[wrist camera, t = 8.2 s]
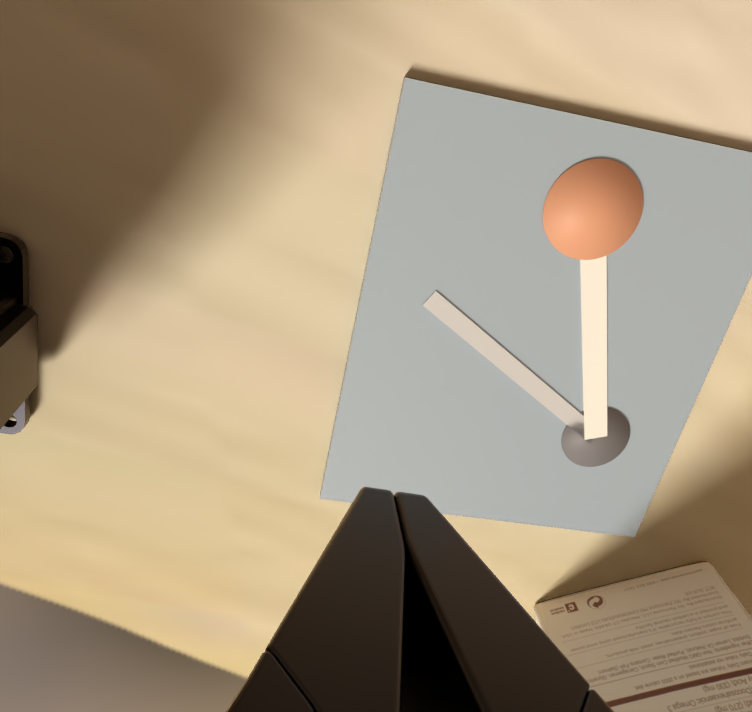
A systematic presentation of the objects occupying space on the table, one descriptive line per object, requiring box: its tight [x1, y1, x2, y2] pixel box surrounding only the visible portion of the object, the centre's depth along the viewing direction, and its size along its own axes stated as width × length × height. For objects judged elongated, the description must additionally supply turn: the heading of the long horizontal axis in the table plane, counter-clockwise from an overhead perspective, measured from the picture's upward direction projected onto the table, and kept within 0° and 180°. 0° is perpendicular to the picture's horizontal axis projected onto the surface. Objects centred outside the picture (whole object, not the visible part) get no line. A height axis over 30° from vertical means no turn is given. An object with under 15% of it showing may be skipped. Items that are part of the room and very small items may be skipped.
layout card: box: [320, 77, 752, 537], centre depth 22 cm, size 12×14×1 cm
